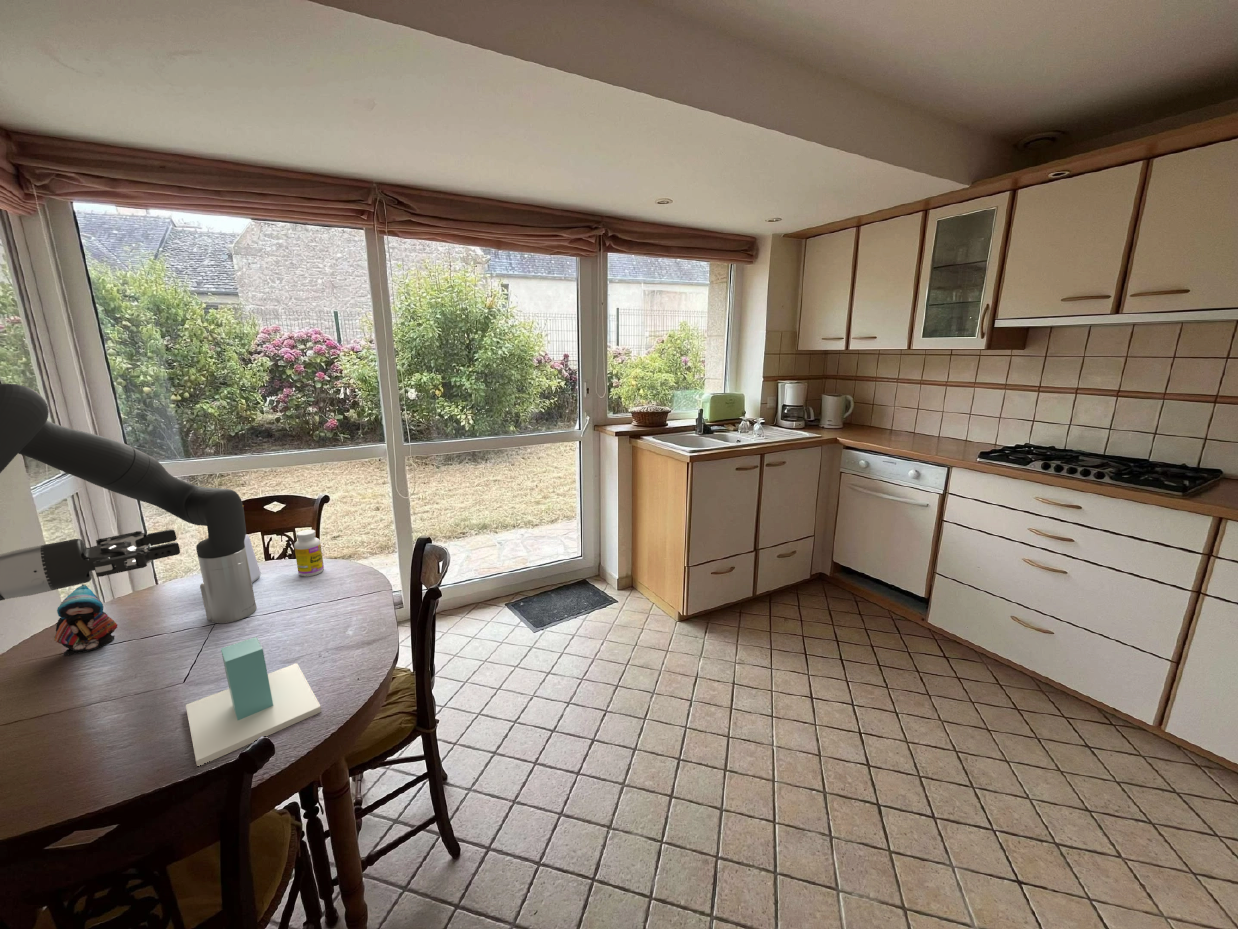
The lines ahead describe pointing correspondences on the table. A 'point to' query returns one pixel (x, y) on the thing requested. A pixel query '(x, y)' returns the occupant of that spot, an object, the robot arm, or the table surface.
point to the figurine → (83, 622)
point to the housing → (247, 677)
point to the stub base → (224, 733)
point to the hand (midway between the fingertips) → (177, 540)
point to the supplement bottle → (308, 553)
